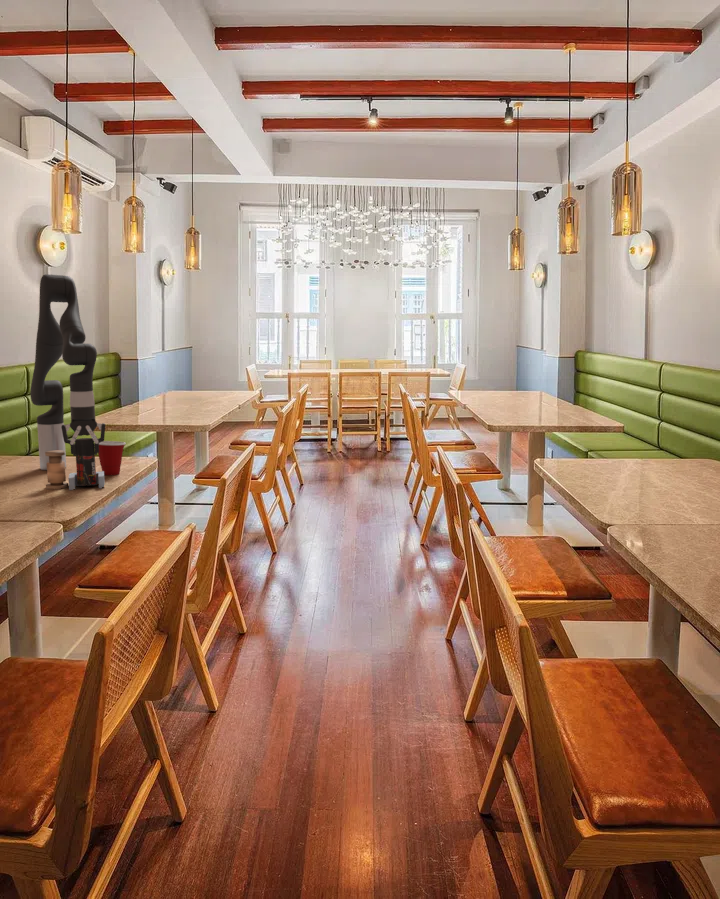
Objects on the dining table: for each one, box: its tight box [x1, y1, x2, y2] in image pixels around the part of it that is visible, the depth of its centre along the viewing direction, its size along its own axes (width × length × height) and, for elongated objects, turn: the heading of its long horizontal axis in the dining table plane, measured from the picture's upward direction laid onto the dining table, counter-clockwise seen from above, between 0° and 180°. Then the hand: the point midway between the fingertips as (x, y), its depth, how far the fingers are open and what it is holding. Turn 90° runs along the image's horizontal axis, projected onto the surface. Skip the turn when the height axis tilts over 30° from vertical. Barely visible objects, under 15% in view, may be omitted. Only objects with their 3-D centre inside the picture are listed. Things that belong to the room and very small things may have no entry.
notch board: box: [67, 470, 106, 491], centre depth 251 cm, size 9×11×4 cm
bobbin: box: [45, 450, 69, 490], centre depth 249 cm, size 7×7×12 cm
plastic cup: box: [97, 440, 127, 476], centre depth 272 cm, size 11×11×12 cm
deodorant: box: [74, 437, 97, 487], centre depth 249 cm, size 6×6×15 cm
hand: (85, 454), depth 249 cm, fingers open, 6 cm apart
